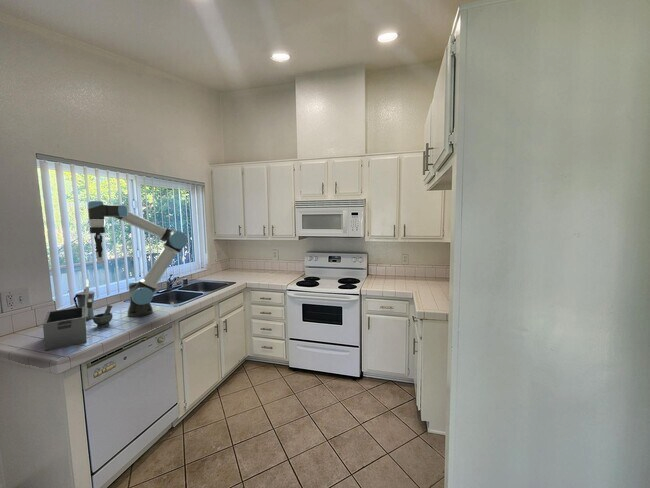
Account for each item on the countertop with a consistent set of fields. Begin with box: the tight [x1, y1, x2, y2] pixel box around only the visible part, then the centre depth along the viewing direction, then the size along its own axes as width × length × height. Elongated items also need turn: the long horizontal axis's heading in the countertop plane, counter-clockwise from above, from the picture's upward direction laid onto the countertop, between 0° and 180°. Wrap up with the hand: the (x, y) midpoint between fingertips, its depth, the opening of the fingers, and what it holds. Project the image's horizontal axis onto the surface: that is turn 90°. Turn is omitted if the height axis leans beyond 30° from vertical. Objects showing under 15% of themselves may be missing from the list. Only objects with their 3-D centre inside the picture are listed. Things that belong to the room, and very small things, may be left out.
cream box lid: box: [84, 278, 93, 317], centre depth 166 cm, size 16×34×3 cm
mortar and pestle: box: [92, 305, 113, 329], centre depth 185 cm, size 11×9×12 cm
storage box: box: [42, 306, 88, 352], centre depth 162 cm, size 16×30×14 cm, turn 39°
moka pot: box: [73, 288, 95, 321], centre depth 197 cm, size 10×15×20 cm, turn 2°
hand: (99, 261), depth 182 cm, fingers open, 13 cm apart
